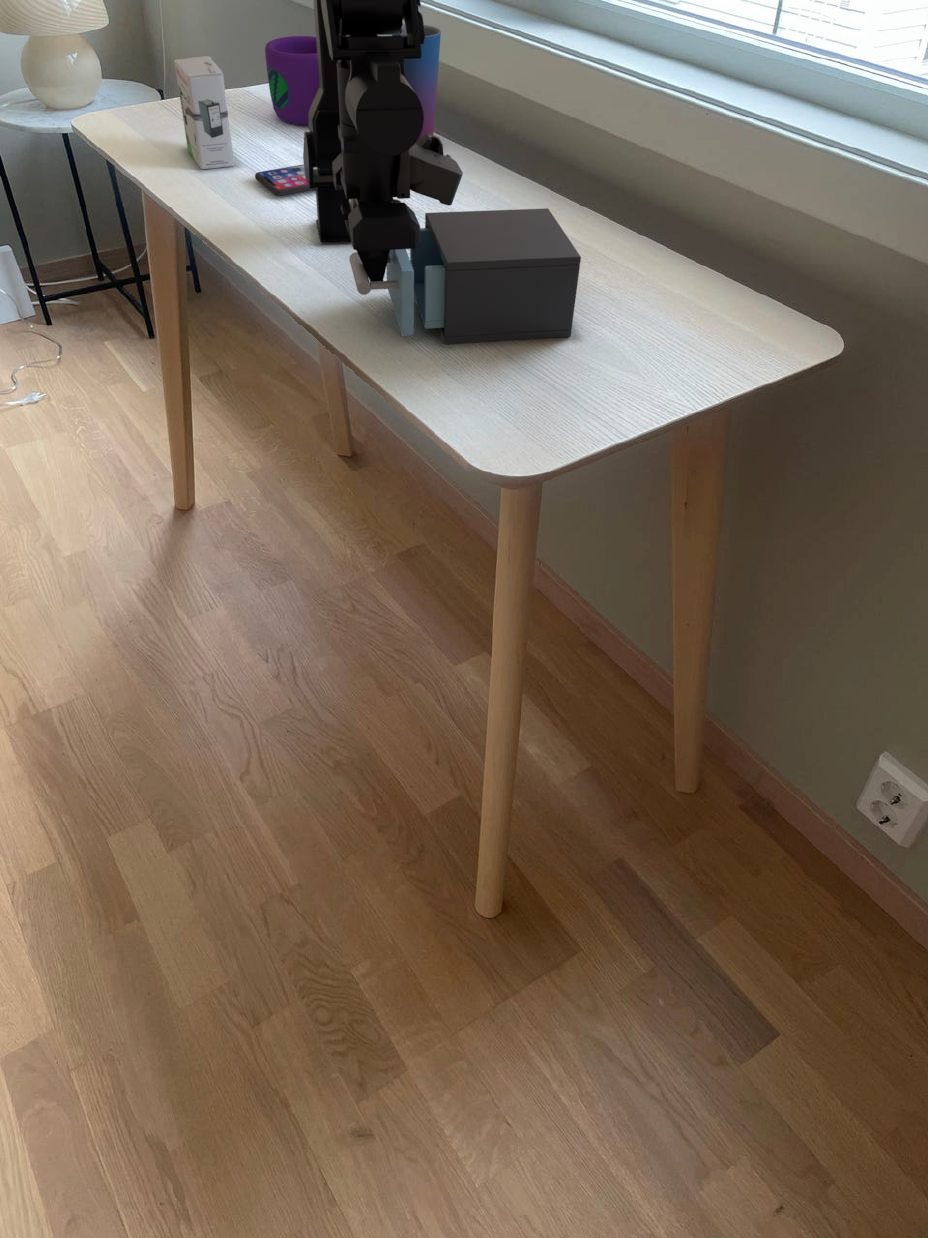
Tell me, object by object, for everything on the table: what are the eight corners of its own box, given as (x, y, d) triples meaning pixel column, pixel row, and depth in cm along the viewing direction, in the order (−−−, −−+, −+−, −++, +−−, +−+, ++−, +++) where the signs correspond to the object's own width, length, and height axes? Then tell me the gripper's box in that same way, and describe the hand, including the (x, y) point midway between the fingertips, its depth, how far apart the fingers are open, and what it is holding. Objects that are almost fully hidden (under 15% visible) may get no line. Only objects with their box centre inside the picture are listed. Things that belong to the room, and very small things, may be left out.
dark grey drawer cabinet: (444, 344, 95) (446, 262, 89) (424, 290, 104) (425, 212, 98) (570, 336, 98) (581, 256, 92) (540, 284, 106) (548, 207, 100)
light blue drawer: (361, 338, 94) (358, 273, 89) (348, 288, 102) (345, 226, 97) (520, 329, 97) (526, 265, 92) (496, 281, 104) (500, 220, 100)
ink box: (186, 149, 133) (171, 56, 125) (220, 146, 135) (208, 54, 126) (200, 170, 128) (186, 74, 119) (236, 166, 129) (224, 71, 121)
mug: (257, 113, 146) (249, 41, 139) (315, 101, 152) (311, 31, 145) (322, 144, 137) (318, 68, 130) (382, 130, 143) (381, 56, 136)
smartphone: (377, 173, 127) (276, 191, 121) (377, 180, 128) (277, 198, 121) (351, 155, 131) (252, 172, 125) (351, 162, 132) (253, 179, 126)
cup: (404, 155, 135) (404, 37, 125) (385, 141, 139) (383, 25, 129) (446, 150, 137) (449, 34, 127) (426, 136, 142) (427, 22, 131)
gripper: (477, 150, 80) (470, 320, 91) (438, 89, 93) (436, 243, 104) (349, 154, 78) (358, 327, 89) (327, 91, 91) (337, 249, 102)
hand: (376, 283), depth 96 cm, fingers closed, pressing on light blue drawer
